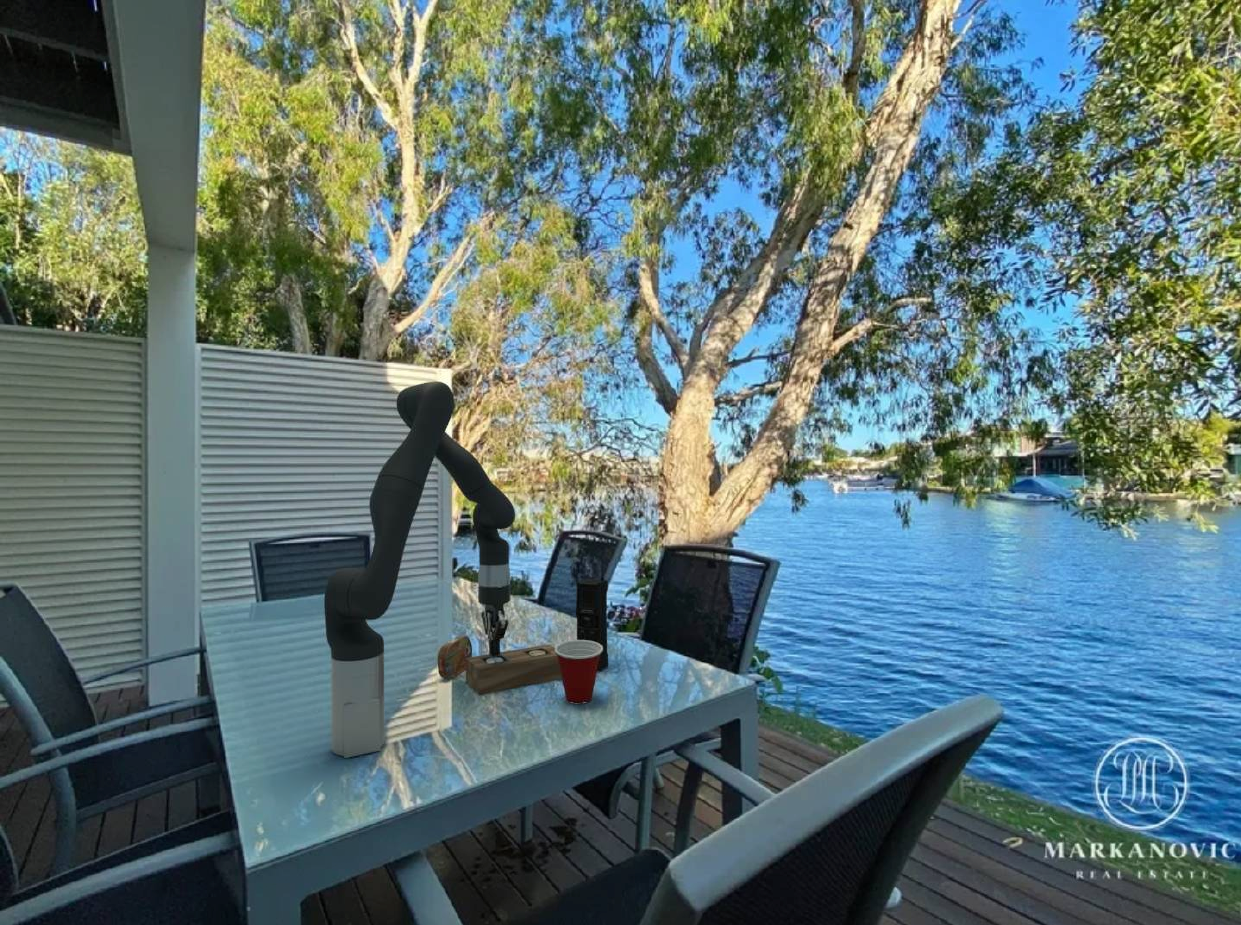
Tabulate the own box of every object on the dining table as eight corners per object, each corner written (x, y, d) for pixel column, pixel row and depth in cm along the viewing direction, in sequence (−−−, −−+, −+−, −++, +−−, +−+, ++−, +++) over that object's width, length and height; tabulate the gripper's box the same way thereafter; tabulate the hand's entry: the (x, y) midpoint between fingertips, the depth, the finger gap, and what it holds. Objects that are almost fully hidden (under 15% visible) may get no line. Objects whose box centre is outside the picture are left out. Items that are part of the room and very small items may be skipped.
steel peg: (505, 683, 154) (505, 660, 154) (489, 686, 152) (489, 663, 152) (499, 678, 157) (499, 656, 157) (484, 681, 155) (483, 659, 155)
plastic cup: (559, 711, 137) (559, 655, 137) (551, 694, 148) (550, 641, 148) (609, 706, 140) (608, 650, 140) (597, 689, 150) (596, 638, 150)
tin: (447, 683, 156) (446, 648, 156) (435, 682, 157) (434, 647, 157) (473, 664, 171) (473, 632, 171) (462, 663, 171) (462, 632, 172)
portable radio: (571, 668, 166) (570, 571, 166) (583, 662, 171) (582, 568, 171) (598, 673, 162) (597, 573, 162) (609, 666, 168) (608, 570, 168)
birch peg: (547, 675, 160) (547, 653, 160) (532, 678, 157) (532, 655, 158) (541, 671, 163) (541, 649, 163) (526, 673, 161) (526, 651, 161)
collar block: (566, 678, 159) (565, 653, 159) (479, 695, 147) (479, 668, 148) (549, 667, 167) (548, 644, 167) (465, 682, 156) (465, 657, 156)
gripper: (470, 580, 158) (470, 650, 158) (488, 588, 147) (488, 664, 147) (499, 577, 162) (500, 646, 162) (519, 585, 151) (519, 659, 151)
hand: (494, 654), depth 154 cm, fingers closed
